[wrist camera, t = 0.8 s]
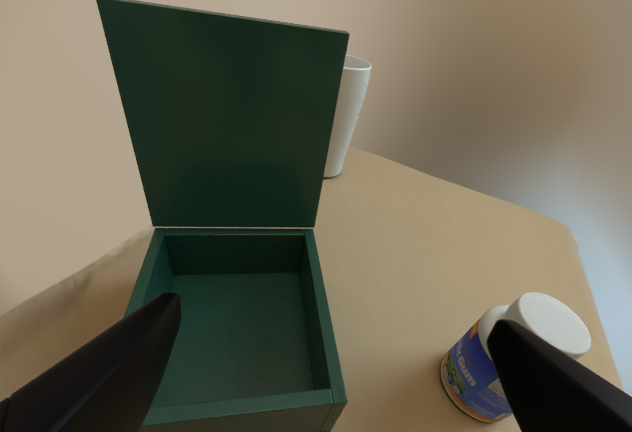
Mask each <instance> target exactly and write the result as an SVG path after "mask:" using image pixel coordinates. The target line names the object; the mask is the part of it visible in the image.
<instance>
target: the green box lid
mask: <svg viewBox="0 0 632 432" xmlns="http://www.w3.org/2000/svg"><path fill="white" fill-rule="evenodd" d="M96 1H97V4H98V9H99V13H100V16H101V20H102V24H103V29H104V32H105V37H106V41H107V45H108V49H109V53H110V57H111V61H112V65H113V68H114V73H115V77H116V80H117V85H118V88H119V93H120V96H121V101H122V105H123V109H124V113H125V117H126V120H127V125H128V128H129V133H130V137H131V140H132V144H133V149H134V152H135V157H136V161H137V165H138V169H139V172H140V176H141V181H142V184H143V189H144V192H145V197H146V200H147V204H148V208H149V212H150V216H151V220H152V224H153V226H167V227H314V226H315V221H316V215H317V210H318V204H319V199H320V193H321V188H322V182H323V177H324V171H325V166H326V160H327V155H328V149H329V144H330V138H331V133H332V127H333V122H334V116H335V111H336V105H337V100H338V94H339V89H340V83H341V78H342V72H343V67H344V61H345V56H346V50H347V45H348V40H349V33H347V32H346V31H341V30H333V29H327V28H319V27H313V26H306V25H300V24H293V23H286V22H279V21H272V20H265V19H258V18H251V17H244V16H238V15H231V14H224V13H217V12H210V11H203V10H196V9H189V8H183V7H176V6H169V5H162V4H155V3H148V2H141V1H135V0H96Z"/></svg>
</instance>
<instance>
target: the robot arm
mask: <svg viewBox="0 0 632 432" xmlns="http://www.w3.org/2000/svg"><path fill="white" fill-rule="evenodd" d="M180 323H181V304H180V296H179V294H177V293H169V292H163V293H160V294H159V295H157V296H156V297H154V298H153V299H151V300H150V301H149V302H147V303H146V304H144V305H143V306H141V307H140V308H138V309H137V310H135V311H134V312H132V313H131V314H129V315H128V316H126V317H125V318H123V319H122V320H121V321H119V322H118V323H116V324H115V325H113V326H112V327H110V328H109V329H107V330H106V331H104V332H103V333H101V334H100V335H98V336H97V337H96V338H94V339H93V340H91V341H90V342H88V343H87V344H85V345H84V346H82V347H81V348H79V349H78V350H76V351H75V352H73V353H72V354H70V355H69V356H68V357H66V358H65V359H63V360H62V361H60V362H59V363H57V364H56V365H54V366H53V367H51V368H50V369H48V370H47V371H45V372H44V373H42V374H41V375H40V376H38V377H37V378H35V379H34V380H32V381H31V382H29V383H28V384H26V385H25V386H23V387H22V388H20V389H19V390H17V391H16V392H14V393H13V394H12V395H11V396H10V398H6V399H4V400H2V401H1V402H0V432H139V430H140V428H141V426H142V424H143V422H144V419H145V417H146V415H147V413H148V411H149V408H150V406H151V404H152V402H153V400H154V397H155V395H156V393H157V391H158V388H159V386H160V383H161V381H162V378H163V375H164V372H165V369H166V366H167V363H168V360H169V357H170V354H171V351H172V348H173V345H174V342H175V339H176V336H177V333H178V330H179V327H180ZM486 344H487V349H488V351H489V354H490V357H491V359H492V362H493V365H494V367H495V370H496V373H497V375H498V378H499V381H500V383H501V386H502V389H503V391H504V394H505V396H506V399H507V401H508V404H509V406H510V408H511V410H512V412H513V414H514V417H515V419H516V421H517V423H518V425H519V427H520V429H521V431H522V432H632V397H631V396H629V395H628V394H626V393H625V392H623V391H622V390H620V389H619V388H617V387H615V386H614V385H612V384H611V383H609V382H608V381H606V380H605V379H603V378H602V377H600V376H599V375H597V374H595V373H594V372H592V371H591V370H589V369H588V368H586V367H585V366H583V365H582V364H580V363H579V362H577V361H576V360H574V359H572V358H571V357H569V356H568V355H566V354H565V353H563V352H562V351H560V350H559V349H557V348H556V347H554V346H552V345H551V344H549V343H548V342H546V341H545V340H543V339H542V338H540V337H539V336H537V335H536V334H534V333H533V332H531V331H529V330H528V329H526V328H525V327H523V326H522V325H520V324H519V323H517V322H516V321H513V320H506V319H499V320H497V321H496V323H495V324H494V326H493V328H492V330H491V332H490V334H489V336H488V337H487V341H486Z"/></svg>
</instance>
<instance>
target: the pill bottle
mask: <svg viewBox="0 0 632 432" xmlns="http://www.w3.org/2000/svg"><path fill="white" fill-rule="evenodd" d="M499 319H506V320H513V321H516V322H517V323H519V324H520V325H522V326H523V327H525V328H526V329H528V330H529V331H531V332H533V333H534V334H536V335H537V336H539V337H540V338H542V339H543V340H545V341H546V342H548V343H549V344H551V345H552V346H554V347H556V348H557V349H559V350H560V351H562V352H563V353H565V354H566V355H568V356H569V357H571V358H572V359H574V360H577V359H578V358H579V357H581V356H582V355H584V354H585V353H586V352H587V351H588V350H589V349H590V346H591V337H590V334H589V332H588V329H587V328H586V326H585V324H584V323H583V322H582V320H581V319H580V318H579V317H578V316H577V315H576V314H575V313H574V312H573V311H572V310H571V309H570V308H569V307H567V306H566V305H564V304H563V303H562V302H560V301H558V300H556V299H555V298H553V297H550V296H548V295H545V294H542V293H537V292H529V293H525V294H523V295H521V296H520V297H519V298H518V299H517V300H516V301H515V302H514V303H512V304H511V305H499V306H495V307H493V308H491V309H489V310H488V311H487V312H486V313H485V314H484V315H483V316H482V317H481V318H480V319H479V320H478V321H477V322H476V323H475V324H474V325H473V326H472V327H471V328H470V329H469V331H468V332H467V333H466V334H465V335H464V336H463V337H462V338H461V339H460V340H459V341H458V342H457V343H456V344H455V345H454V346H453V347H452V348H451V349H450V350H449V351H448V353H447V354H446V355H445V356H444V358H443V360H442V363H441V378H442V382H443V385H444V387H445V389H446V391H447V393H448V395H449V396H450V398H451V399H452V400H453V402H454V403H455V404H456V405H457V406H458V407H459V408H460V409H461V410H462V411H464V412H465V413H467V414H468V415H470V416H471V417H473V418H475V419H477V420H480V421H484V422H497V421H501V420H503V419H505V418H506V417H508V416H510V415H512V414H513V412H512V410H511V408H510V406H509V404H508V401H507V399H506V396H505V394H504V391H503V389H502V386H501V383H500V381H499V378H498V375H497V373H496V370H495V367H494V365H493V362H492V359H491V357H490V354H489V351H488V349H487V344H486V341H487V337H488V336H489V334H490V332H491V330H492V328H493V326H494V324H495V323H496V321H497V320H499Z"/></svg>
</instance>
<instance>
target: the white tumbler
mask: <svg viewBox="0 0 632 432" xmlns="http://www.w3.org/2000/svg"><path fill="white" fill-rule="evenodd" d="M371 68H372V65H371V64H370V63H369V62H367V61H366V60H364V59H361V58H359V57H356V56H352V55H347V54H346V56H345V61H344V67H343V72H342V78H341V83H340V89H339V94H338V100H337V105H336V111H335V116H334V122H333V127H332V133H331V138H330V144H329V149H328V155H327V160H326V166H325V171H324V177H327V178H329V177H335V176H337V175H339V174H340V173H341V171H342V168H343V164H344V160H345V157H346V154H347V151H348V148H349V145H350V142H351V138H352V136H353V133H354V130H355V127H356V124H357V121H358V118H359V115H360V112H361V109H362V106H363V102H364V99H365V96H366V92H367V88H368V83H369V79H370V73H371Z"/></svg>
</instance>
